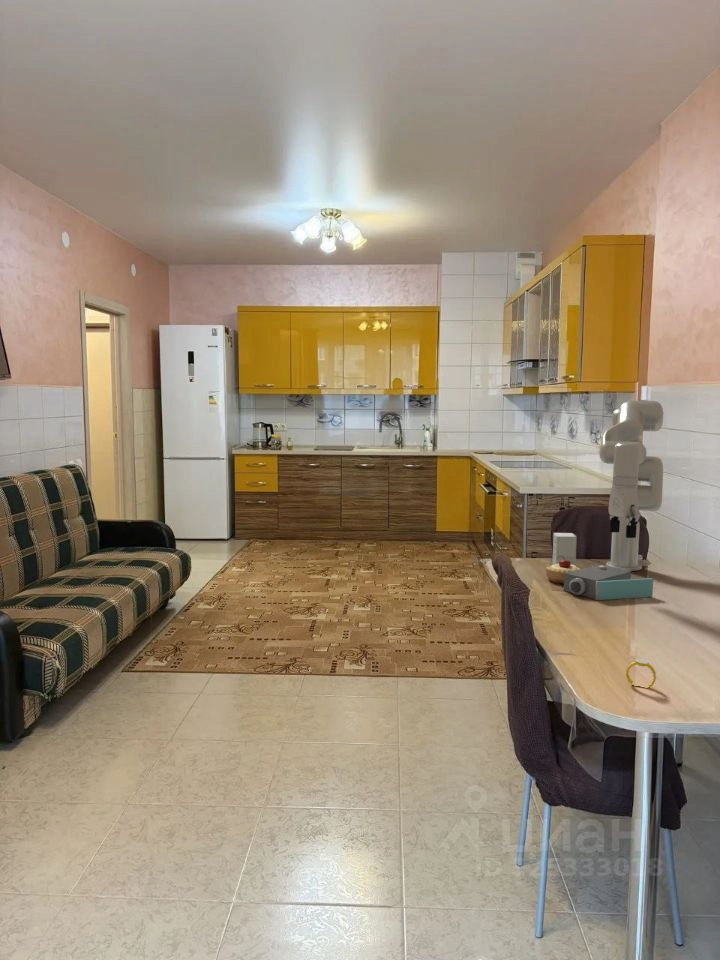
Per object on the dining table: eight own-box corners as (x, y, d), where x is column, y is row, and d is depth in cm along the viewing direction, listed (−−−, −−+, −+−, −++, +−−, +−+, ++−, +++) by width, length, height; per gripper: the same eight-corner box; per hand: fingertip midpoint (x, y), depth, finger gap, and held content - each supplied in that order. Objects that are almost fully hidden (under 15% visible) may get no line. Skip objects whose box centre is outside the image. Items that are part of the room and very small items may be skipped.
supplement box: (571, 565, 265) (573, 532, 263) (575, 569, 257) (577, 536, 256) (551, 564, 265) (553, 532, 264) (555, 569, 258) (556, 536, 257)
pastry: (568, 588, 234) (569, 563, 232) (538, 580, 242) (539, 556, 241) (587, 581, 241) (589, 556, 240) (558, 574, 250) (559, 550, 249)
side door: (650, 595, 223) (651, 578, 222) (652, 596, 222) (653, 579, 221) (594, 599, 218) (595, 581, 218) (596, 600, 217) (597, 582, 217)
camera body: (598, 581, 241) (599, 562, 240) (630, 588, 232) (631, 569, 231) (559, 592, 227) (559, 571, 226) (591, 600, 218) (592, 579, 217)
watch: (654, 687, 152) (658, 662, 151) (653, 692, 150) (657, 666, 149) (625, 680, 155) (629, 655, 154) (624, 685, 152) (627, 659, 151)
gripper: (600, 479, 228) (598, 530, 230) (629, 485, 211) (626, 540, 213) (621, 479, 229) (618, 530, 231) (651, 484, 212) (648, 539, 214)
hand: (622, 534), depth 222 cm, fingers open, 9 cm apart
